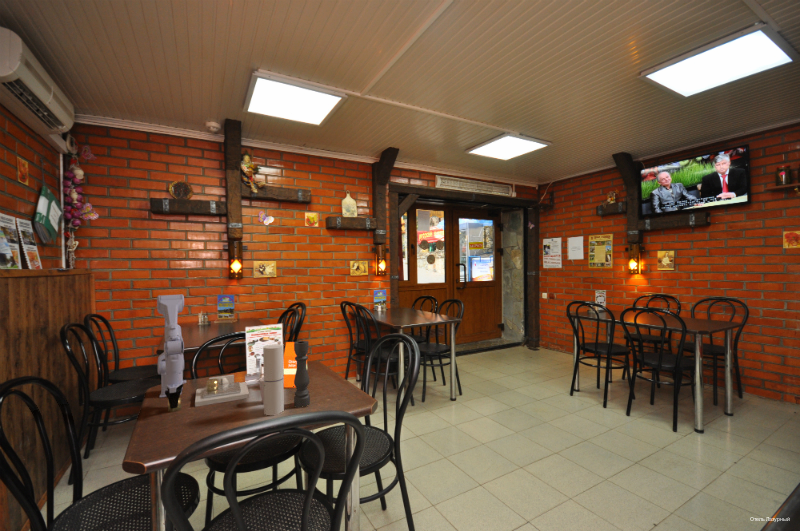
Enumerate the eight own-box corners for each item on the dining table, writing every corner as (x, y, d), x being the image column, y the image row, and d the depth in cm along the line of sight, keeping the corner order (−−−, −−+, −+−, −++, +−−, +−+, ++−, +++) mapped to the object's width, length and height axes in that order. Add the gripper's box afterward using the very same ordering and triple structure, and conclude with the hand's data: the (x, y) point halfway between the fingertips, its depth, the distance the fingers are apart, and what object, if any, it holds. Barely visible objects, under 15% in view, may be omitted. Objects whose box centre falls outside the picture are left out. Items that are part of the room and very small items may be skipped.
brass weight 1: (168, 408, 143) (168, 398, 143) (181, 406, 145) (181, 396, 145) (167, 412, 139) (167, 402, 139) (180, 410, 141) (180, 400, 141)
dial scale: (196, 393, 160) (196, 379, 160) (245, 385, 169) (245, 372, 169) (195, 406, 144) (194, 391, 144) (249, 397, 153) (249, 383, 153)
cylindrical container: (272, 417, 133) (271, 349, 133) (260, 413, 137) (259, 347, 137) (287, 410, 139) (287, 345, 139) (275, 406, 143) (274, 343, 143)
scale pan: (204, 389, 159) (204, 387, 159) (239, 384, 165) (239, 381, 165) (203, 397, 148) (203, 395, 148) (240, 392, 154) (240, 389, 154)
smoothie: (269, 405, 144) (269, 370, 144) (255, 404, 145) (254, 369, 146) (278, 399, 150) (277, 366, 151) (264, 398, 152) (264, 365, 152)
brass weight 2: (206, 389, 156) (206, 379, 156) (218, 387, 158) (217, 378, 158) (206, 392, 152) (206, 382, 152) (218, 390, 154) (218, 381, 154)
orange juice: (302, 387, 166) (302, 343, 166) (283, 387, 166) (283, 343, 166) (307, 381, 174) (306, 340, 174) (289, 382, 174) (288, 340, 174)
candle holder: (295, 402, 147) (295, 340, 148) (311, 401, 148) (310, 340, 148) (292, 408, 141) (291, 344, 141) (308, 407, 142) (307, 343, 142)
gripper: (184, 374, 137) (185, 410, 137) (187, 365, 150) (187, 398, 150) (162, 377, 134) (163, 413, 134) (167, 367, 147) (167, 401, 147)
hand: (174, 405), depth 142 cm, fingers closed on brass weight 1, 4 cm apart
